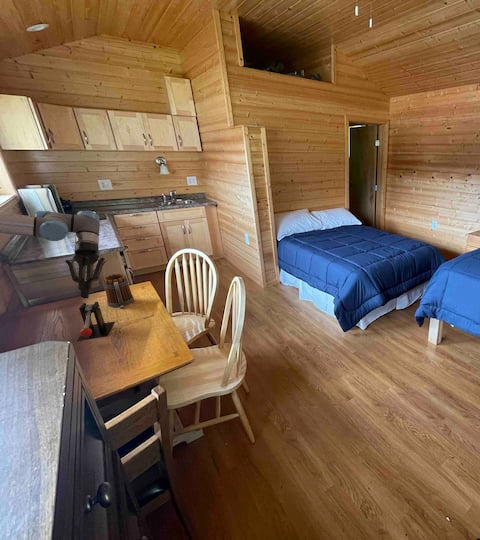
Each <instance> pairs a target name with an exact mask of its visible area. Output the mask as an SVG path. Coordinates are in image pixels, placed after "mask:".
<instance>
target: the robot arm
mask: <svg viewBox="0 0 480 540" xmlns="http://www.w3.org/2000/svg"><path fill="white" fill-rule="evenodd" d="M34 215H35V216H33V215H26V214H25V215H24V214H15V213H8V212H0V235H9V236H19V237H21V236H22V237H31V238H42V239H44V240H46V241H49V242H60V241H62V240H64V239H66V237H67V235H68V233H75V239H74V255H73V256H72V258H70V259H66V260H65V262H64V263H65V264H67V266H68V269H69V272H70V276H71V280H72V281H73V282H74V283H77V284H78V285H77V286H78V287H77V289H78V290H79V291H80V298H82V299H83V300H84V299H89V298H90V297H89V295H90V290H92V289H93V282H97V281H99V278H100V276H101V273H102V269H103V266H104V265H105V264H106V263H107V260H106V259H105V257H101V256H100V254H99V253H100V251H99V249H100V247H99V245H100V228H101V227H100V226H101V225H100V224H101V223H100V216H99V214H98V213H96V212H94V211H91V210H80V211H78V212H77V213H76V214H70V213H69V214H68V213H62V212H55V211H50V210H46V211H45V210H37V211H36V212H35V214H34ZM75 262H76V263H77V265H78V273H77V269H76V267H75V264H76V263H75ZM95 264H96V265H95ZM94 265H95V267H94Z"/></svg>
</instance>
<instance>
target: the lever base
mask: <svg viewBox="0 0 480 540" xmlns="http://www.w3.org/2000/svg"><path fill="white" fill-rule="evenodd" d="M92 304H93V306H92V309H93V312H94V313H93V315H94V319H95V321H96V323H94V324H93V321H92V318H91V319H90V325H89V328H90V329H91V330H92V334H91V335H90V336H88V337H82V336H81V335H80V334H79V337H78V338H77V340H76V341H77V342H81V341H88V340H94V339H100V338H107V337H109V335H110V333H111V331H112V329H113V327H114V325H115V323H116V321H108V322H105V319H104V317H103V313H102V309H101V307H100V303H99V301H95V302H94V303H92ZM86 305H87V303H86V302H83V303H82V304H81V305H80V306H79V308H78V309H79V312H80V315H81V319H82V322H83V325H84V326H85V322H86V317H87V312H86V311H85V308H86Z"/></svg>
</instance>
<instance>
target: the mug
mask: <svg viewBox="0 0 480 540" xmlns="http://www.w3.org/2000/svg"><path fill="white" fill-rule="evenodd" d="M103 287H104V289H105V294H106V303H107V306H108V307H110V308H120V310H122V309H125V306H128V305H131V304H134V302H135V297H134V296H133V293H132V291H131V288H130V285H129V281H128V279H127V277H126V275H125V274H124V273H112V274H108V275H107V276H105V277H104V278H103Z"/></svg>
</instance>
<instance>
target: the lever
mask: <svg viewBox="0 0 480 540" xmlns="http://www.w3.org/2000/svg"><path fill="white" fill-rule="evenodd" d="M93 304H94V303H90V304H89V303H88V304H86V308H85V311H86V312H87V317H86V322H85V325H84V328H82V329H80V331H79V336H80V335H81V336H82V337H88V336H90V335H91V334H92V330H91V329H90V328H89V325H90V319H91V320H92V314H94V312H93V309H92V306H93Z"/></svg>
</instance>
